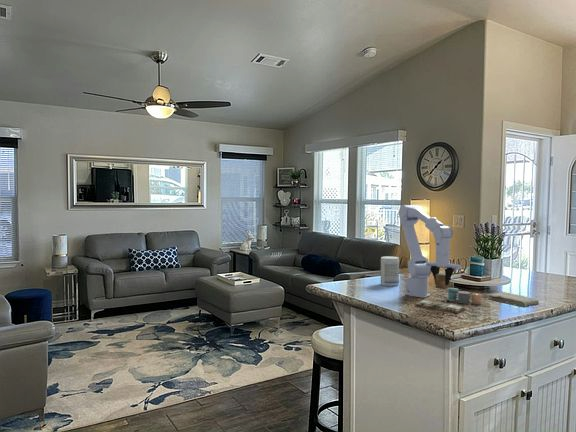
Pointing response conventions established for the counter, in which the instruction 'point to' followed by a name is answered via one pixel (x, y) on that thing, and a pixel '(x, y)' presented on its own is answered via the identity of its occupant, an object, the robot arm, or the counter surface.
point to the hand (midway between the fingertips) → (442, 284)
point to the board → (440, 306)
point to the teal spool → (452, 294)
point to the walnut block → (441, 281)
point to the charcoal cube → (463, 297)
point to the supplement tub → (390, 271)
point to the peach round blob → (476, 298)
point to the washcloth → (513, 299)
